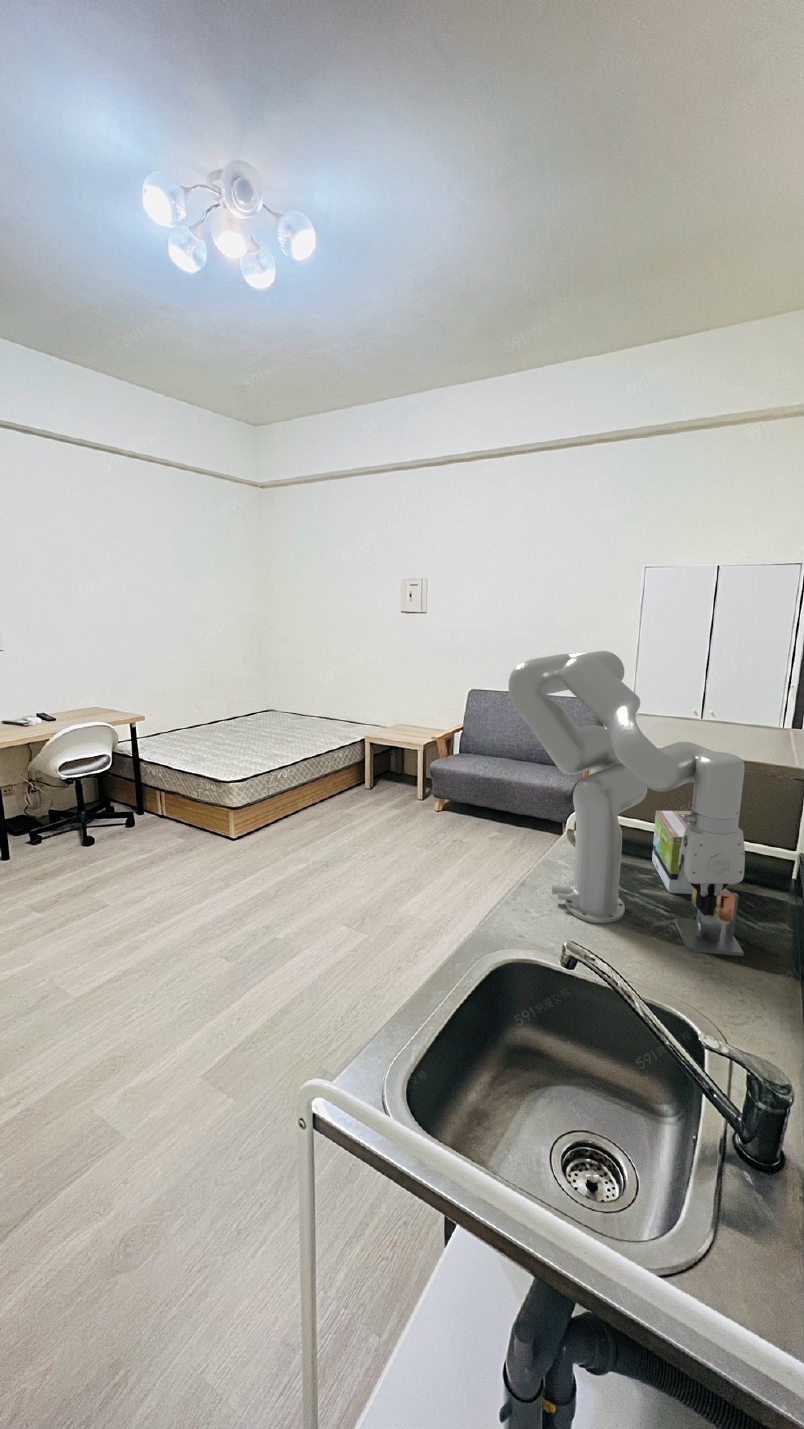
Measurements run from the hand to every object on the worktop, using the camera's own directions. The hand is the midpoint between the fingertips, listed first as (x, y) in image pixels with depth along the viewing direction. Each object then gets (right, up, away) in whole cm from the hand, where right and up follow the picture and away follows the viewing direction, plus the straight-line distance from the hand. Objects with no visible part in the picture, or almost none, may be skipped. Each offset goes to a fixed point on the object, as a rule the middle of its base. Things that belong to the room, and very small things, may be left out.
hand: (705, 911), depth 109 cm
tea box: (+11, -3, +32) cm, 34 cm away
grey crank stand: (+5, -9, +9) cm, 14 cm away
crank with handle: (+5, -2, +5) cm, 7 cm away
